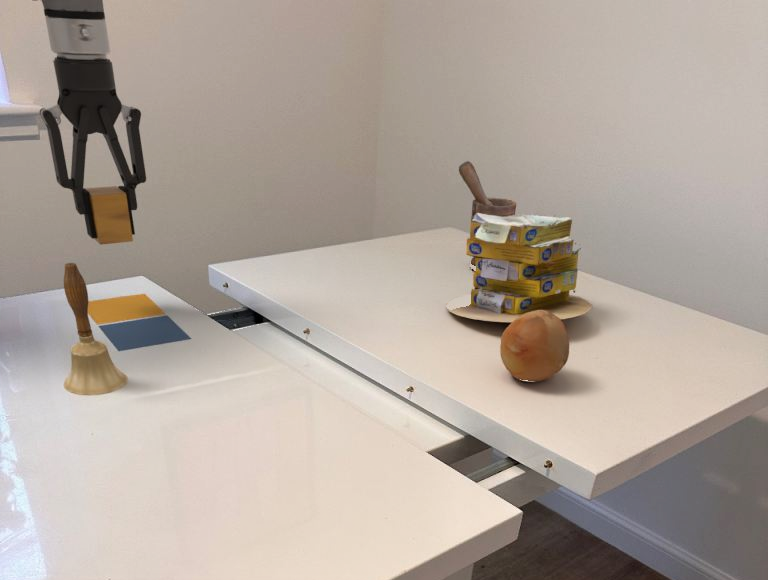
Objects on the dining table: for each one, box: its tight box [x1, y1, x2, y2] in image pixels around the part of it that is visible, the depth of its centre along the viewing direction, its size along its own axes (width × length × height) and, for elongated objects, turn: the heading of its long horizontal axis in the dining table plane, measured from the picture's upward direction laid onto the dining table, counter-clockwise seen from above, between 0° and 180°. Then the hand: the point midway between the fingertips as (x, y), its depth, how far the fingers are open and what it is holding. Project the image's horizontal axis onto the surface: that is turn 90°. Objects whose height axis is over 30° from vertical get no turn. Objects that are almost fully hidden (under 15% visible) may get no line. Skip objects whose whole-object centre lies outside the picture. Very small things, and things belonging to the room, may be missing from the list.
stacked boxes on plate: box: [447, 211, 593, 323], centre depth 122 cm, size 25×25×17 cm
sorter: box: [88, 293, 192, 352], centre depth 114 cm, size 23×11×1 cm, turn 33°
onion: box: [499, 310, 570, 382], centre depth 102 cm, size 10×10×10 cm
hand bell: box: [63, 262, 129, 396], centre depth 91 cm, size 8×8×16 cm
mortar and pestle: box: [458, 160, 517, 266], centre depth 142 cm, size 12×9×20 cm
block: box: [84, 185, 134, 245], centre depth 109 cm, size 5×5×7 cm
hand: (111, 233), depth 111 cm, fingers closed on block, 5 cm apart
